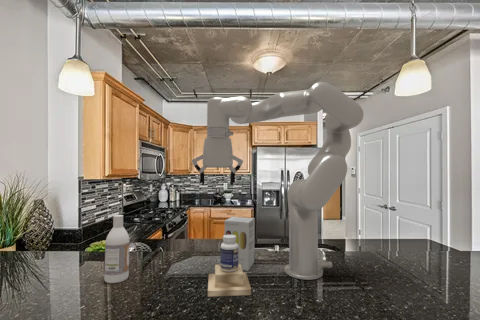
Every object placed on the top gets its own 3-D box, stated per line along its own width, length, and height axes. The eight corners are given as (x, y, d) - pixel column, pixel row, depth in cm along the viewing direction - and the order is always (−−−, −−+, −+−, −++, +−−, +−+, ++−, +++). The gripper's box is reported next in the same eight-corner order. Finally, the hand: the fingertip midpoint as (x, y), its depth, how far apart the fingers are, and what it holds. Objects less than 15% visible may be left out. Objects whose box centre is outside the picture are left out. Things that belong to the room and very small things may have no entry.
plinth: (245, 277, 82) (246, 261, 83) (251, 294, 70) (251, 276, 71) (208, 278, 81) (208, 262, 81) (207, 296, 69) (207, 278, 69)
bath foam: (127, 282, 78) (129, 216, 79) (102, 285, 76) (104, 217, 77) (129, 273, 85) (130, 213, 86) (105, 276, 82) (107, 214, 83)
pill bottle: (236, 273, 73) (236, 238, 73) (218, 271, 74) (218, 237, 74) (239, 266, 78) (240, 234, 79) (223, 265, 79) (223, 233, 80)
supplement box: (222, 268, 90) (223, 220, 91) (231, 259, 99) (231, 216, 100) (248, 271, 87) (249, 221, 88) (255, 262, 96) (255, 217, 97)
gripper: (241, 136, 91) (241, 184, 90) (192, 135, 89) (192, 184, 88) (244, 133, 84) (244, 185, 83) (191, 132, 82) (190, 185, 81)
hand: (217, 184), depth 86 cm, fingers open, 9 cm apart
